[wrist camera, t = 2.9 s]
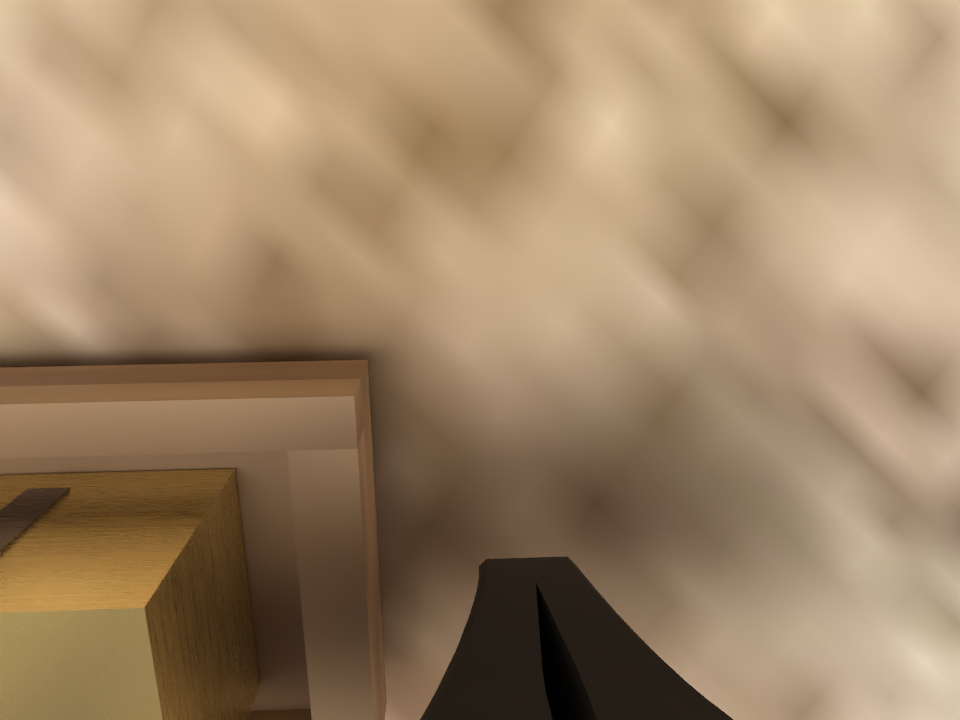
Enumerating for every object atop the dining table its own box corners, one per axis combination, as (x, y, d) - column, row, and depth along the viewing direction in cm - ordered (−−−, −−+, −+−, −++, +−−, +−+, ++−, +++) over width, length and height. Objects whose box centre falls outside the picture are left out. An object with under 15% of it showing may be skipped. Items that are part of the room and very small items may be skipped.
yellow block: (260, 686, 12) (190, 888, 9) (-42, 698, 12) (-230, 910, 9) (234, 465, 11) (143, 604, 8) (-100, 474, 11) (-344, 620, 8)
